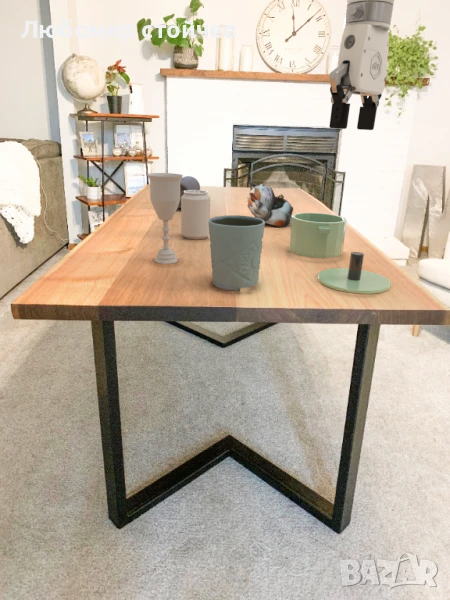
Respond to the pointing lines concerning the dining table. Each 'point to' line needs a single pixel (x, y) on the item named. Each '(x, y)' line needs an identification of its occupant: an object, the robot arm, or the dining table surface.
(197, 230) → the can
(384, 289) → the lid
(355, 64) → the robot arm
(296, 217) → the pot
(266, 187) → the lucky cat figurine
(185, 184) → the bluetooth speaker
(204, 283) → the dining table surface
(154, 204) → the chalice
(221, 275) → the green ceramic cup
